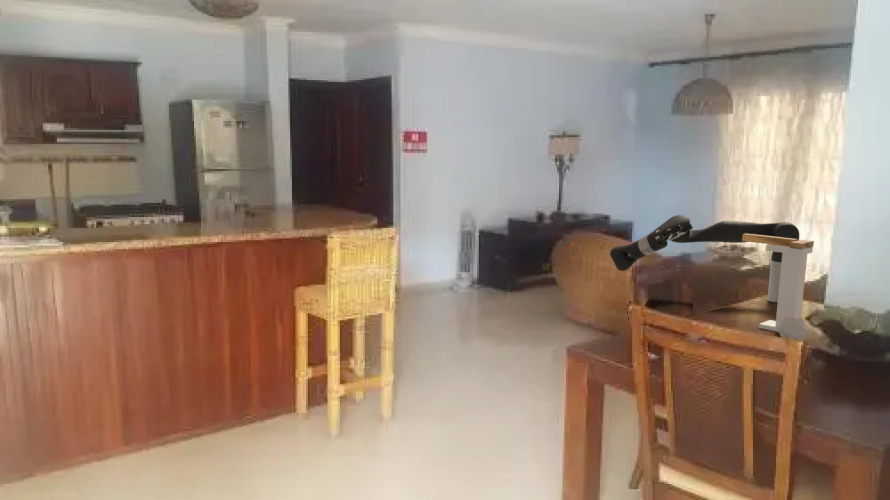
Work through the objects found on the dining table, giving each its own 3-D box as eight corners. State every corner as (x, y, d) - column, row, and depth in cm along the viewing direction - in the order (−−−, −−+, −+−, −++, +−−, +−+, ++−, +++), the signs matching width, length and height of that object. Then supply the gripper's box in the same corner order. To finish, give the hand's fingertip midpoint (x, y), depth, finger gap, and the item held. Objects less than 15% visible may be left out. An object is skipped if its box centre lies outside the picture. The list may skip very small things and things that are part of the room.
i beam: (769, 323, 249) (777, 242, 245) (804, 330, 241) (812, 246, 236) (758, 327, 243) (766, 244, 239) (793, 335, 235) (802, 249, 230)
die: (807, 342, 228) (791, 315, 232) (818, 336, 220) (802, 308, 223) (784, 352, 228) (768, 324, 231) (795, 346, 219) (778, 318, 223)
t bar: (749, 239, 252) (750, 232, 252) (813, 246, 236) (814, 239, 236) (737, 241, 246) (738, 234, 245) (802, 249, 230) (802, 242, 229)
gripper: (665, 249, 280) (699, 234, 269) (646, 253, 271) (680, 236, 260) (658, 233, 282) (691, 216, 271) (639, 235, 273) (672, 219, 261)
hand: (686, 226), depth 265 cm, fingers open, 8 cm apart
